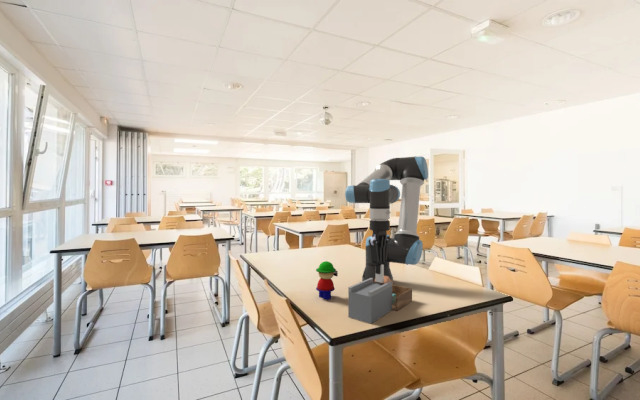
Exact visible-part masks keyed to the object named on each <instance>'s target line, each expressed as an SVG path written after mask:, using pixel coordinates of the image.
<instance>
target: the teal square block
mask: <svg viewBox="0 0 640 400" xmlns="http://www.w3.org/2000/svg"><path fill="white" fill-rule="evenodd" d="M395 302H396V294H393V293H392V304H393V303H395Z"/></svg>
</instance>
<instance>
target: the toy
mask: <svg viewBox="0 0 640 400" xmlns="http://www.w3.org/2000/svg"><path fill="white" fill-rule="evenodd" d="M315 271H316V272H317V273H318V276H319V280H318V282H317V285H316V288H315V290H316V291H317V292H318V297H319V298H322V299H324V300H327V301H328V300H332V299H331V298H332V292H333V291H335V289H336V288H335V286H334V285H335V284H334V282H333V280H332V279H333V277H338V270H337V269H336V268H335V267H334V265H333V263H332V262H331V261H327V260H326V261H323V262H320V264H319V266H318V268H316V269H315Z"/></svg>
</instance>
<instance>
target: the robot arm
mask: <svg viewBox="0 0 640 400" xmlns="http://www.w3.org/2000/svg"><path fill="white" fill-rule="evenodd" d="M427 163H428V162H427V160H426V157H424V156H406V157H393V158H389V159H388V160H385V161H383V162H381V163H380V164H378V165H377V166H376V167H375V169H374V170H373V171H372V172H371V173H370V174H369V175H368V176H366V178H364V179H363V180H361V181H360V182H359V183H358V184H357V185H348V186H347V187H346V188H345V192H344V193H345V194H344V195H345V200H346V202H347V203H351V204H369V219H370V220H369V230H370V231H372V235H369V236H367V237H366V239H365V267H364V270H363V273H362V277H361V278H362V279H361V282H362V281H365V280H367V279H369V278H373V282H374V281H375V282H380V283H383V282H384V276H388V277H389V278H390V279H391V281H392V282H393V283H394V277H393V273H392V270H391V267H390V264H391V263H395V264H401V265H402V264H403V265H410V266H411V265H412V266H414V265H417V264H418V263H420V260H421V258H422V255H423V250H424V249H423V246H424V244H423V240H421V239H420V235H419V234H418V233H417V231H418V230H417V229H418V220H419V218H418V217H419V205H420V194H421V187H422V186H423V185H424V184H425V180H428V178H429V168H428V164H427ZM390 181H399V182H400V184H401V185H402V187H401V192H400V189H399V187H397V186H396V185H393V184H391V182H390ZM400 197H401V198H400ZM399 199H400V207H399V218H398V226H397V231H396V232H395V233H394V234H393V235H394V236H393V237H391V236H390V235H389V234H387V232H388V231H390V229H391V227H390V226H391V221H390V217H391V216H390V215H391V209H390V208H391V205H392V204H395V203H397V202H398V201H399Z"/></svg>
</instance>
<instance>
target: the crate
mask: <svg viewBox="0 0 640 400" xmlns="http://www.w3.org/2000/svg"><path fill="white" fill-rule="evenodd" d="M392 293H393V294H396V302H395V303H393V304H392V310H391V311H396V312H398V311H400V310H401V309H402V308H404V307H405V306H407V305H409V304H410V303H411V302H412V301H413V288H410V287H406V286H400V285H396V284H392Z"/></svg>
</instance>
